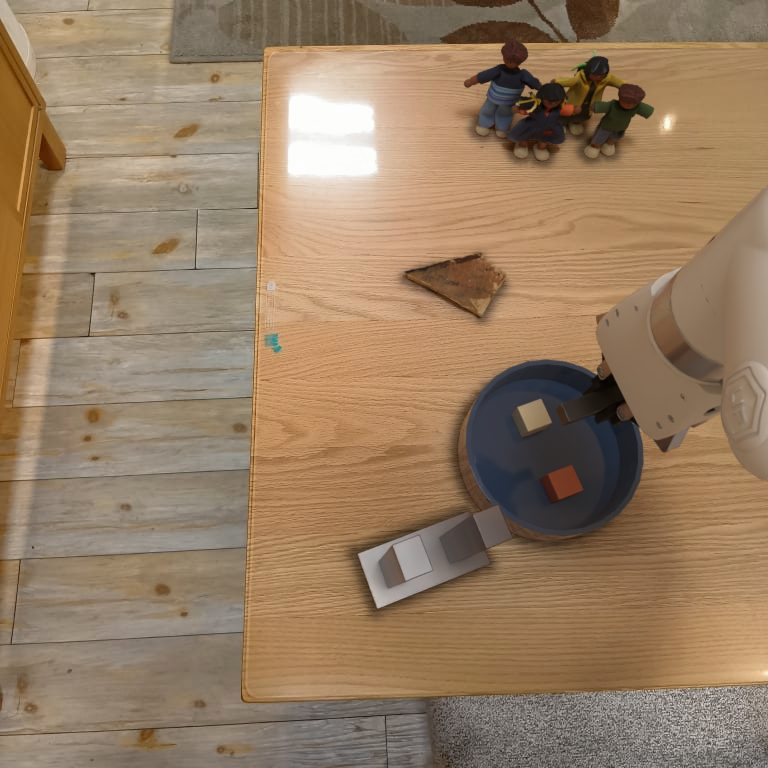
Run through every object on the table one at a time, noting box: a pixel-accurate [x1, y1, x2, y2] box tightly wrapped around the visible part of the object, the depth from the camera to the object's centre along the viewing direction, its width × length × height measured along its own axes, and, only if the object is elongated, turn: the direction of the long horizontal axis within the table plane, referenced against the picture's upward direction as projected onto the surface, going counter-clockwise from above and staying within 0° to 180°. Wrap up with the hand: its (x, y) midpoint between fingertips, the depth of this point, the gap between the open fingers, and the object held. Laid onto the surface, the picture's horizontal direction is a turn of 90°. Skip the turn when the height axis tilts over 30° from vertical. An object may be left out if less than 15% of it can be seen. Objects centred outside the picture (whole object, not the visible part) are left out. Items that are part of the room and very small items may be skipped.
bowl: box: [457, 358, 645, 542], centre depth 76 cm, size 19×19×6 cm
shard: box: [404, 252, 508, 318], centre depth 84 cm, size 11×8×2 cm
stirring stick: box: [556, 384, 625, 426], centre depth 57 cm, size 2×10×2 cm, turn 111°
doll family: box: [463, 39, 655, 162], centre depth 86 cm, size 23×9×13 cm, turn 99°
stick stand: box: [356, 504, 514, 610], centre depth 64 cm, size 6×13×20 cm, turn 111°
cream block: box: [511, 399, 552, 438], centre depth 77 cm, size 3×3×3 cm
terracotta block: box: [540, 465, 583, 504], centre depth 75 cm, size 3×3×3 cm
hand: (604, 403), depth 59 cm, fingers closed on stirring stick, 1 cm apart
